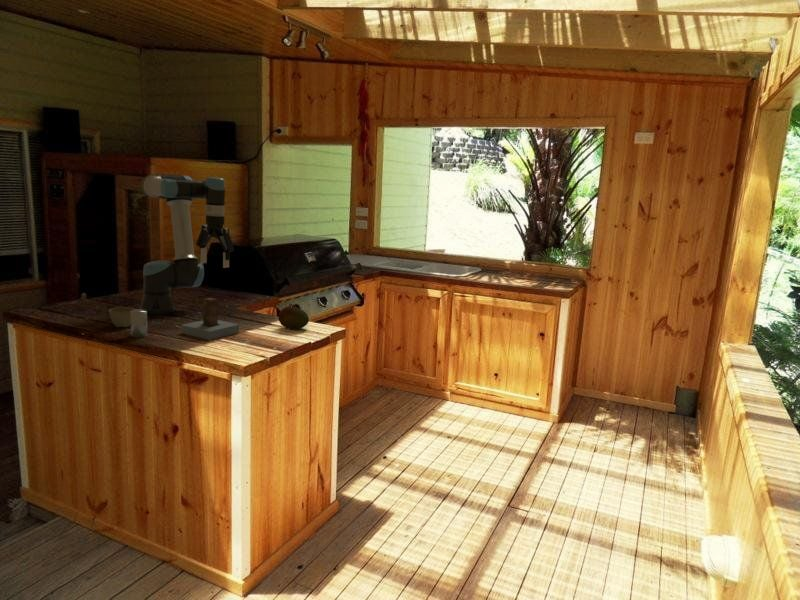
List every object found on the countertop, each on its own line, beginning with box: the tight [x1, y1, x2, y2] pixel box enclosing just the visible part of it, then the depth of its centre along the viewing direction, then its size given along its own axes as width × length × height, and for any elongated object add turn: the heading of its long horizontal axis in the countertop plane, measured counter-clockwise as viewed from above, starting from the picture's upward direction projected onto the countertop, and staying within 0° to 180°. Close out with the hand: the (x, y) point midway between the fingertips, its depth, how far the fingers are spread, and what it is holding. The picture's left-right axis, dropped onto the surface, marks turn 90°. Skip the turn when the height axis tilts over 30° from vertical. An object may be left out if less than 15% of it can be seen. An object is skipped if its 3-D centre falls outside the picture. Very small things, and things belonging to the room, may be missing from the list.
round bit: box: [130, 308, 149, 338], centre depth 238 cm, size 6×6×10 cm
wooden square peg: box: [202, 297, 219, 327], centre depth 248 cm, size 4×4×14 cm
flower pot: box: [108, 306, 136, 328], centre depth 251 cm, size 10×10×7 cm
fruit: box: [277, 306, 310, 330], centre depth 264 cm, size 12×12×10 cm
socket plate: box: [180, 319, 240, 341], centre depth 249 cm, size 16×16×4 cm
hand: (214, 265), depth 257 cm, fingers open, 13 cm apart
